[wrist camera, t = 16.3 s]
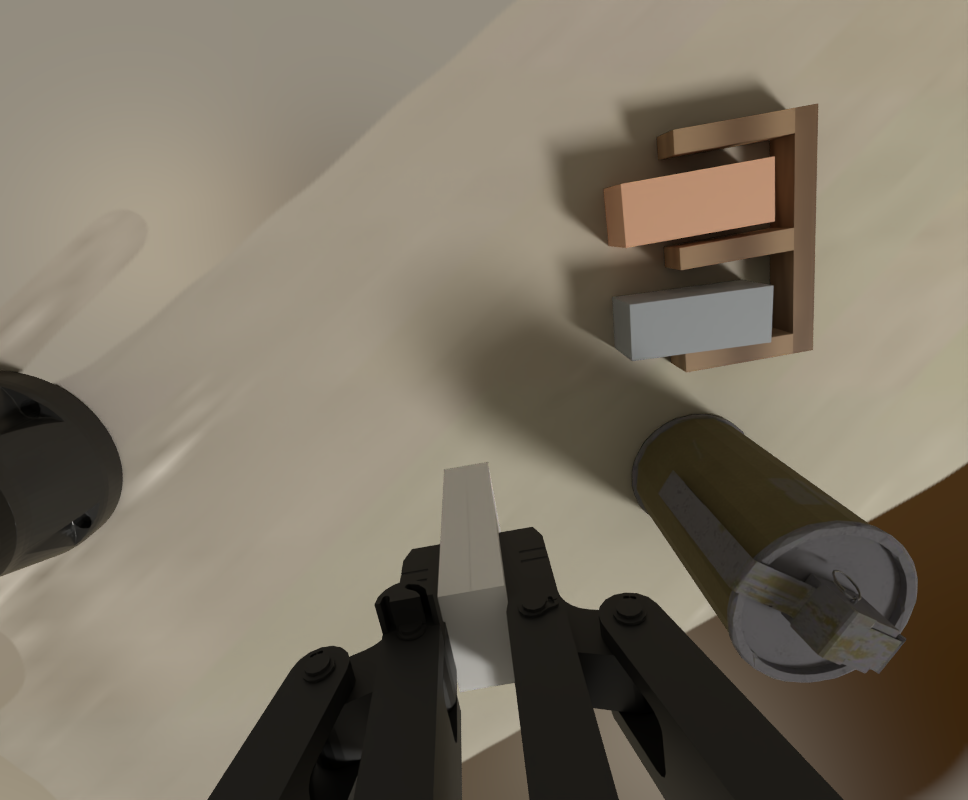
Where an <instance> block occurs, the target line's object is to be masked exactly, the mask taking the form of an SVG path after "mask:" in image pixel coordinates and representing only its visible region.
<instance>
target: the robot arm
mask: <svg viewBox="0 0 968 800" xmlns="http://www.w3.org/2000/svg"><path fill="white" fill-rule="evenodd" d="M121 490H122V466H121V461H120V457H119V454H118V451H117V449H116V446H115V444H114V442H113V440H112V438H111V436H110V434H109V433H108V431H107V429H106V428H105V427H104V425H103V424H102V423H101V421H100V420H99V419H98V418H97V416H96V415H95V414H94V413H93V412H92V411H91V410H90V409H89V408H88V407H87V406H85V405H84V404H83V403H82V402H81V401H79V400H78V399H77V398H76V397H74V396H73V395H71V394H70V393H68V392H67V391H65V390H63V389H61V388H60V387H58V386H56V385H54V384H52V383H50V382H47V381H45V380H42V379H39V378H37V377H34V376H29V375H26V374H21V373H16V372H8V371H0V576H3V575H6V574H8V573H11V572H14V571H17V570H19V569H22V568H25V567H27V566H30V565H33V564H36V563H38V562H41V561H44V560H46V559H49V558H52V557H55V556H57V555H60V554H62V553H65V552H67V551H69V550H70V549H72V548H74V547H76V546H77V545H79V544H80V543H82V542H83V541H84V540H86V539H87V538H88V537H89V536H90V535H92V534H93V533H94V532H95V531H96V530H98V529H99V528H100V527H101V526H102V525H103V524H104V523H105V522H106V521H107V520H108V519H109V518H110V516H111V515H112V513H113V512H114V510H115V508H116V506H117V504H118V501H119V498H120V495H121ZM401 574H402V576H401V579H400V583H398V584H395V585H393V586H391V587H390V588H388V589H386V590H385V591H384V592H383V593H382V594H381V595H380V596H379V597H378V598H377V601H376V603H375V608H376V612H377V615H378V619H379V622H380V626H381V629H382V633H383V636H382V640H381V641H380V642H378V643H377V644H376V645H374V646H372V647H370V648H368V649H367V650H364V651H362V652H360V653H357V654H355V655H353V656H350V657H349V655H348V652H346V651H345V650H344V649H343V648H341V647H336V646H329V647H322V648H319V649H317V650H314V651H312V652H310V653H308V654H307V655H306V656H304V657H303V658H301V659H300V660H299V661H298V662H297V663H296V664H295V666H294V667H293V668H292V669H291V671H290V672H289V674H288V675H287V677H286V679H285V680H284V682H283V683H282V685H281V686H280V688H279V689H278V691H277V693H276V694H275V696H274V697H273V699H272V700H271V702H270V703H269V705H268V706H267V708H266V710H265V711H264V713H263V714H262V716H261V717H260V719H259V720H258V722H257V724H256V725H255V727H254V728H253V730H252V731H251V733H250V734H249V736H248V738H247V739H246V741H245V742H244V744H243V745H242V747H241V748H240V750H239V751H238V753H237V755H236V756H235V758H234V759H233V761H232V762H231V764H230V765H229V767H228V769H227V770H226V772H225V773H224V775H223V776H222V778H221V779H220V781H219V783H218V784H217V786H216V787H215V789H214V790H213V792H212V793H211V795H210V796H209V798H208V800H462V768H461V765H462V764H461V710H460V706H459V702H458V698H457V682H458V686H459V690H460V692H464V691H470V690H475V689H481V688H487V687H493V686H498V685H504V684H510V683H515V687H516V695H517V703H518V711H519V719H520V727H521V735H522V743H523V751H524V759H525V767H526V775H527V783H528V791H529V799H530V800H619V799H618V795H617V792H616V789H615V784H614V781H613V777H612V774H611V770H610V767H609V763H608V760H607V756H606V752H605V749H604V745H603V742H602V738H601V735H600V731H599V728H598V724H597V721H596V717H595V713H594V710H593V708H598V709H606V710H611V711H612V714H613V716H614V719H615V720H616V722H617V723H618V725H619V726H620V728H621V730H622V731H623V733H624V734H625V736H626V738H627V739H628V741H629V743H630V744H631V746H632V747H633V749H634V751H635V752H636V754H637V755H638V757H639V759H640V760H641V762H642V763H643V765H644V766H645V768H646V770H647V771H648V773H649V774H650V776H651V778H652V779H653V781H654V782H655V784H656V786H657V787H658V789H659V791H660V792H661V794H662V795H663V797H664V798H665V800H843V799H842V798H841V797H840V796H839V794H837V792H836V791H835V790H834V789H833V788H832V787H831V786H830V785H829V784H828V783H827V782H826V781H825V780H824V779H823V778H822V776H821V775H819V774H818V772H817V771H816V770H815V769H814V768H813V767H812V766H811V765H810V764H809V763H808V762H807V761H806V760H805V759H804V758H803V757H802V755H801V754H799V752H798V751H797V750H796V749H795V748H794V747H793V746H792V745H791V744H790V743H789V742H788V741H787V740H786V739H785V738H784V737H783V736H782V735H781V733H779V731H778V730H777V729H776V728H775V727H774V726H773V725H772V724H771V723H770V722H769V721H768V720H767V719H766V718H765V717H764V716H763V715H762V713H761V712H760V711H759V710H758V709H757V708H756V707H755V706H754V705H753V704H752V703H751V702H750V701H749V700H748V699H747V698H746V697H745V696H744V695H743V693H741V691H739V689H738V688H737V687H736V686H735V685H734V684H733V683H732V682H731V681H730V680H729V679H728V678H727V677H726V676H725V675H724V673H722V671H721V670H720V669H719V668H718V667H717V666H716V665H715V664H714V663H713V662H712V661H711V660H710V659H709V658H708V657H707V656H706V655H705V654H704V652H703V651H702V650H701V649H700V648H699V647H698V646H697V645H696V644H695V643H694V642H693V641H692V640H691V639H690V638H689V637H688V636H687V635H686V634H685V633H684V631H683V630H682V629H681V628H680V627H679V626H678V625H677V624H676V623H675V622H674V621H673V620H672V619H671V618H670V617H669V616H668V615H667V614H666V613H665V611H664V610H663V609H662V608H661V607H660V606H659V605H658V604H657V603H656V602H654V601H653V600H651V599H650V598H649V597H646V596H643V595H640V594H637V593H621V594H616V595H613V596H611V597H610V598H608V599H606V600H605V601H604V602H603V603H602V605H601V606H600V608H599V610H589V609H582V608H578V607H575V606H572V605H570V604H569V603H567V602H565V601H564V600H563V599H562V598H561V597H560V595H559V593H558V590H557V587H556V583H555V579H554V576H553V572H552V569H551V565H550V561H549V558H548V554H547V551H546V547H545V543H544V540H543V536H542V535H541V534H540V533H539V532H538V531H537V530H535V529H534V528H533V527H529V528H523V529H517V530H512V531H506V532H501V530H500V525H499V519H498V514H497V509H496V503H495V498H494V492H493V487H492V481H491V476H490V471H489V465H488V462H485V463H479V464H473V465H468V466H462V467H456V468H451V469H445V470H444V482H443V501H442V521H441V540H440V544H439V545H434V546H428V547H422V548H417V549H412V550H411V551H410V553H409V554H408V556H407V557H406V558H405V560H404V561H403V566H402V573H401Z"/></svg>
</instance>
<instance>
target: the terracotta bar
mask: <svg viewBox="0 0 968 800" xmlns="http://www.w3.org/2000/svg"><path fill="white" fill-rule="evenodd" d="M603 191H604V201H605V212H606V222H607V233H608V244H609V246H614V247H623V248H628V247H634V246H639V245H645V244H651V243H656V242H662V241H667V240H673V239H679V238H684V237H690V236H695V235H701V234H707V233H712V232H718V231H723V230H729V229H734V228H740V227H746V226H751V225H757V224H762V223H768V222H774V221H775V156H774V157H768V158H763V159H757V160H752V161H746V162H741V163H735V164H729V165H724V166H718V167H713V168H707V169H702V170H696V171H690V172H685V173H679V174H674V175H668V176H663V177H657V178H652V179H646V180H640V181H635V182H629V183H624V184H619V185H615V186H612V187H608V188H605V189H603Z"/></svg>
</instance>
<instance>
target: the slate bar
mask: <svg viewBox="0 0 968 800" xmlns="http://www.w3.org/2000/svg"><path fill="white" fill-rule="evenodd" d="M773 288H774V285H768V284H763V283H757V282H752V281H746V280H735V281H728V282H721V283H713V284H706V285H698V286H691V287H683V288H676V289H668V290H661V291H653V292H646V293H639V294H631V295H624V296H616V297H612V300H613V320H614V339H615V348H616V349H617V350H618V351H620V352H621V353H622V354H623V355H625V356H626V357H627V358H629V359H630V360H631V361H636V360H644V359H651V358H659V357H666V356H673V355H681V354H688V353H695V352H703V351H710V350H718V349H725V348H732V347H740V346H747V345H755V344H762V343H769V342H771V335H772V312H773Z"/></svg>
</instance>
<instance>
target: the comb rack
mask: <svg viewBox="0 0 968 800" xmlns="http://www.w3.org/2000/svg"><path fill="white" fill-rule="evenodd" d="M817 135H818V104H813V105H808V106H802V107H797V108H791V109H786V110H780V111H774V112H769V113H763V114H758V115H752V116H747V117H741V118H736V119H730V120H724V121H719V122H713V123H708V124H702V125H697V126H691V127H686V128H680V129H675V130H672V131H669V132H667V133H665V134H663V135H661V136H658V137H657V149H658V160H662V159H668V158H673V157H679V156H685V155H690V154H696V153H701V152H707V151H712V150H718V149H724V148H729V147H735V146H740V145H746V144H751V143H757V142H762V141H768V140H770V157H774V156H775V221H774V222H770V228H766V229H761V230H755V231H750V232H744V233H738V234H733V235H727V236H722V237H716V238H711V239H705V240H699V241H694V242H688V243H683V244H677V245H671V246H666V247H664V259H665V267H666V268H672V269H677V270H685V269H691V268H696V267H702V266H707V265H713V264H719V263H724V262H730V261H735V260H741V259H747V258H752V257H758V256H763V255H769V254H770V285H774V288H773V312H772V335H771V342H769V343H762V344H755V345H747V346H740V347H732V348H725V349H718V350H710V351H703V352H695V353H688V354H681V355H673V356H671V363H672V364H674V365H675V366H677V367H679V368H680V369H682V370H683V371H685V372H691V371H697V370H703V369H708V368H714V367H719V366H725V365H731V364H736V363H742V362H748V361H753V360H759V359H764V358H770V357H776V356H781V355H787V354H793V353H798V352H804V351H810V350H813V320H814V274H815V228H816V182H817Z"/></svg>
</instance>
